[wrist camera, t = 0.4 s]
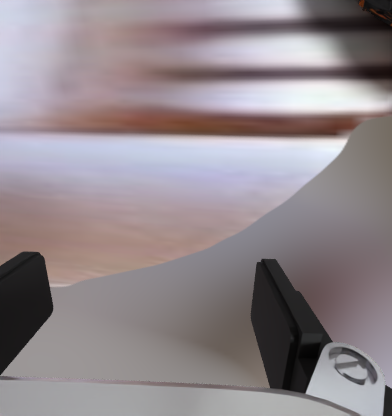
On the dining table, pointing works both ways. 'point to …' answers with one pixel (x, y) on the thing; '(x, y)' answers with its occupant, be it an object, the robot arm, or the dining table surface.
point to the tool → (379, 9)
